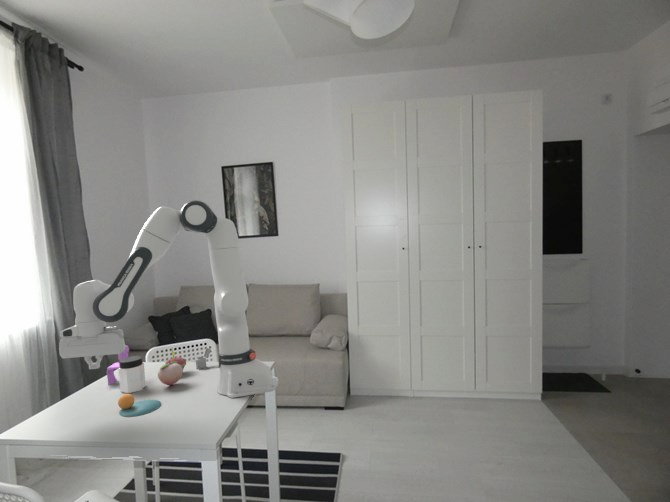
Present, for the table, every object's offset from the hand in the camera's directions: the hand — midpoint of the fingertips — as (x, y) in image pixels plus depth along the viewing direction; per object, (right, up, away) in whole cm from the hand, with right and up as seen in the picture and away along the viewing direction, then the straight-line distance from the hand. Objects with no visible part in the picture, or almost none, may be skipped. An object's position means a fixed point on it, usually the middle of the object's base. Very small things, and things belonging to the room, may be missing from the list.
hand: (94, 368), depth 137 cm
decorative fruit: (+18, -13, +22) cm, 31 cm away
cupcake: (+14, -13, +35) cm, 40 cm away
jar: (+3, -14, +21) cm, 25 cm away
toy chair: (-7, -15, +30) cm, 34 cm away
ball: (+10, -12, +2) cm, 16 cm away
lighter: (+23, -12, +43) cm, 50 cm away
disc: (+15, -14, +1) cm, 21 cm away
